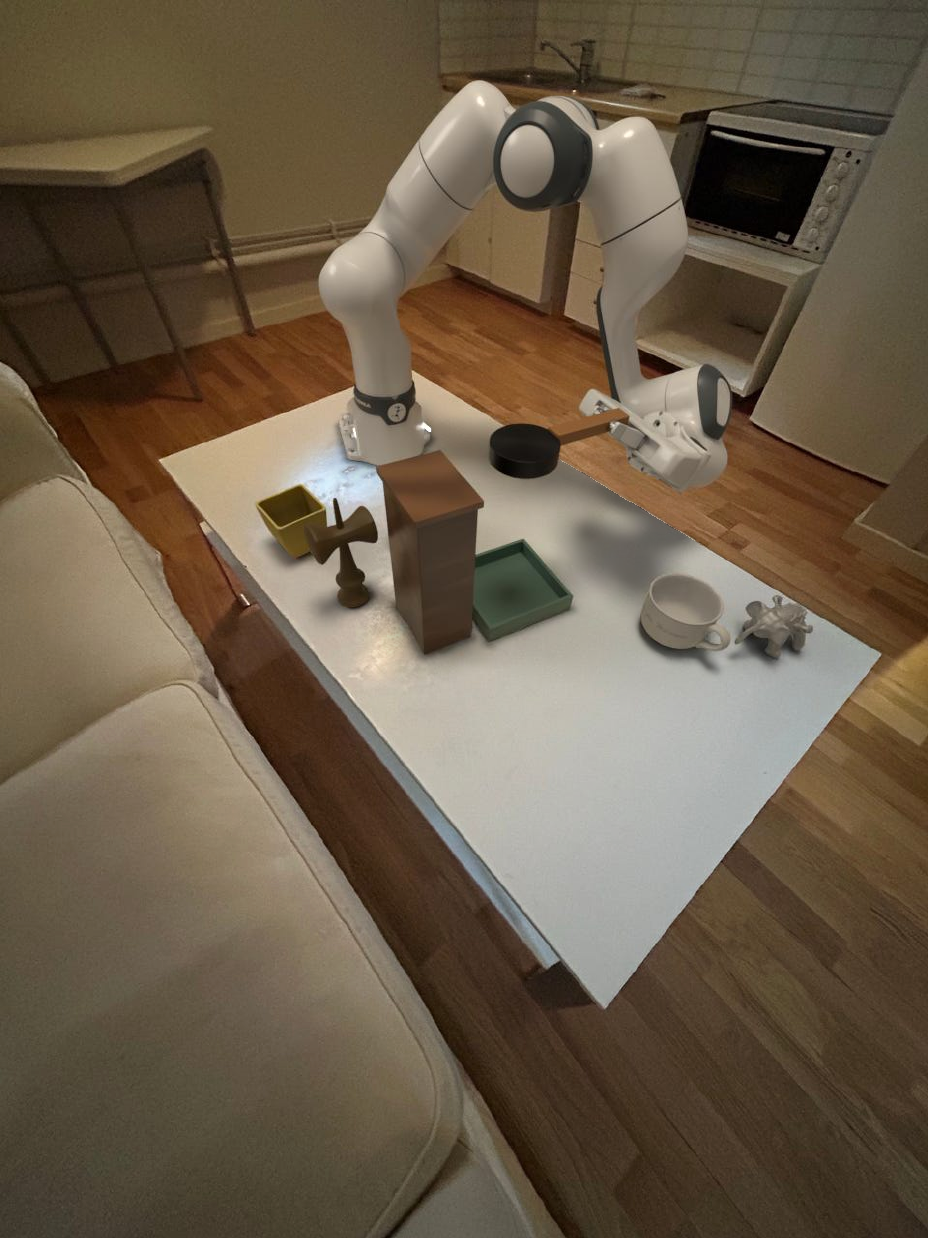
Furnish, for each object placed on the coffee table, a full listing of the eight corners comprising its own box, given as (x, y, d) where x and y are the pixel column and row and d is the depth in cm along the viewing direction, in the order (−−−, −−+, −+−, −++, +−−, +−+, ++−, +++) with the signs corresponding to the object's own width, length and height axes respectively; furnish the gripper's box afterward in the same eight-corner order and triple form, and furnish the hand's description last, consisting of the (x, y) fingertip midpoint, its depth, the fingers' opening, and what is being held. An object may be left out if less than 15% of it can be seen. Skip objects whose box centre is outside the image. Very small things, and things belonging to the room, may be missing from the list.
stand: (391, 604, 87) (375, 466, 68) (441, 586, 90) (440, 449, 70) (422, 658, 81) (414, 522, 61) (475, 637, 83) (484, 500, 64)
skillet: (476, 449, 71) (477, 429, 69) (599, 415, 78) (604, 396, 75) (511, 486, 66) (513, 466, 64) (640, 446, 72) (646, 427, 70)
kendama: (319, 597, 88) (292, 497, 73) (372, 575, 92) (357, 475, 76) (334, 621, 85) (309, 522, 70) (389, 598, 88) (376, 498, 73)
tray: (445, 578, 92) (445, 564, 89) (521, 551, 96) (523, 538, 94) (488, 641, 83) (489, 628, 81) (570, 608, 88) (573, 595, 85)
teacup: (622, 615, 87) (635, 580, 81) (678, 598, 90) (695, 563, 84) (672, 683, 79) (691, 650, 73) (733, 662, 82) (756, 629, 75)
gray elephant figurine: (807, 642, 84) (833, 610, 79) (770, 685, 79) (796, 654, 73) (752, 609, 89) (773, 576, 83) (713, 647, 83) (733, 615, 77)
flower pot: (290, 570, 92) (278, 529, 85) (267, 543, 96) (253, 502, 89) (335, 548, 96) (327, 507, 89) (311, 523, 100) (301, 482, 93)
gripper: (626, 393, 85) (571, 364, 76) (721, 460, 74) (669, 435, 65) (603, 430, 89) (547, 406, 80) (690, 499, 77) (637, 480, 68)
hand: (603, 419), depth 72 cm, fingers closed on skillet, 2 cm apart
